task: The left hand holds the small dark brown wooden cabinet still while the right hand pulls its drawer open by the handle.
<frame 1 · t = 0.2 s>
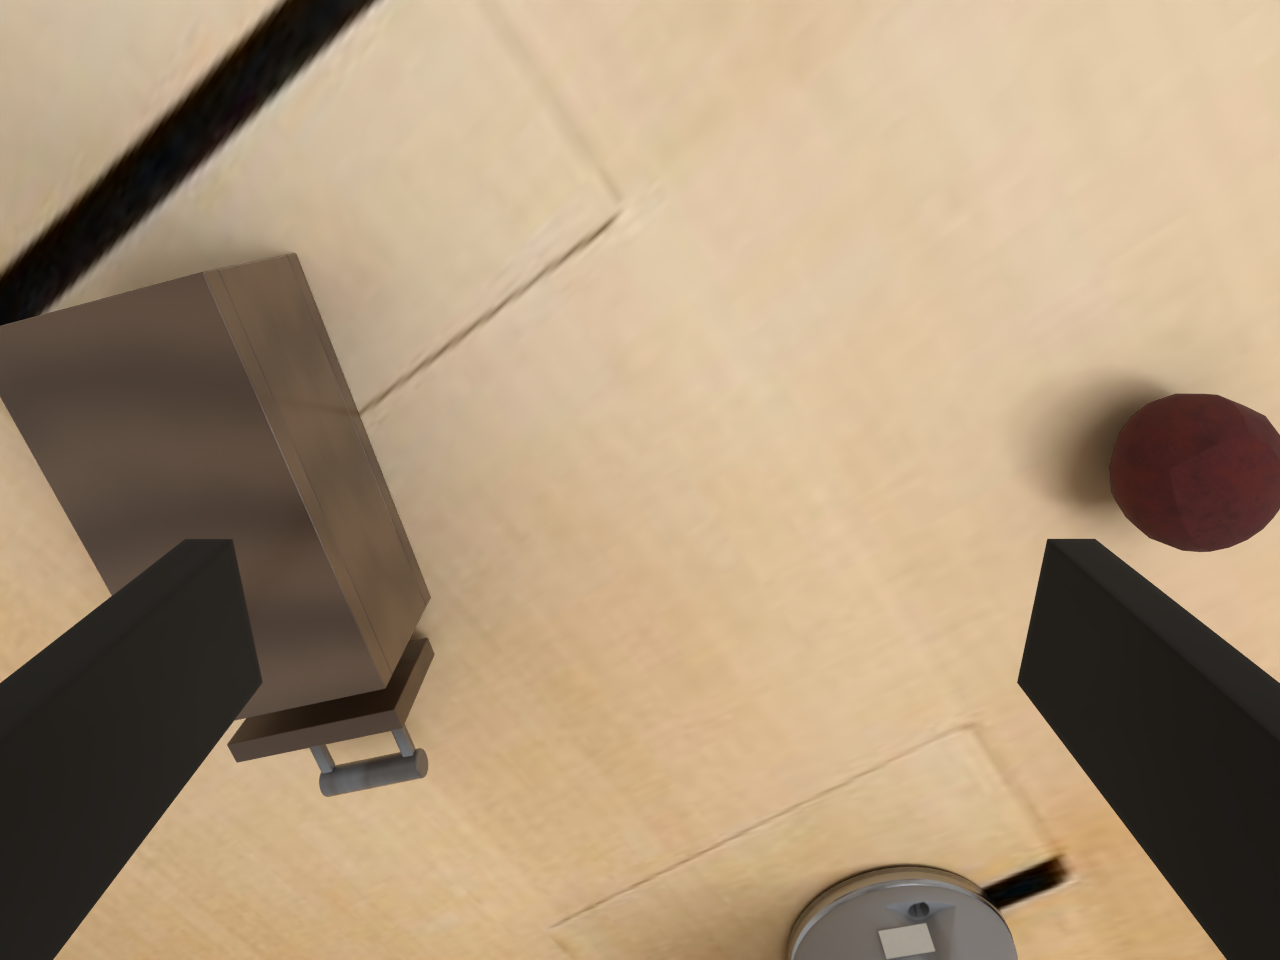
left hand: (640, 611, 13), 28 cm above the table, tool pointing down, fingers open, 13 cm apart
drawer: (295, 606, 40), point 4 cm above the table, slide at 1.9 cm
cabinet: (280, 461, 41), on the table
dark maroon ball: (1148, 445, 41), on the table
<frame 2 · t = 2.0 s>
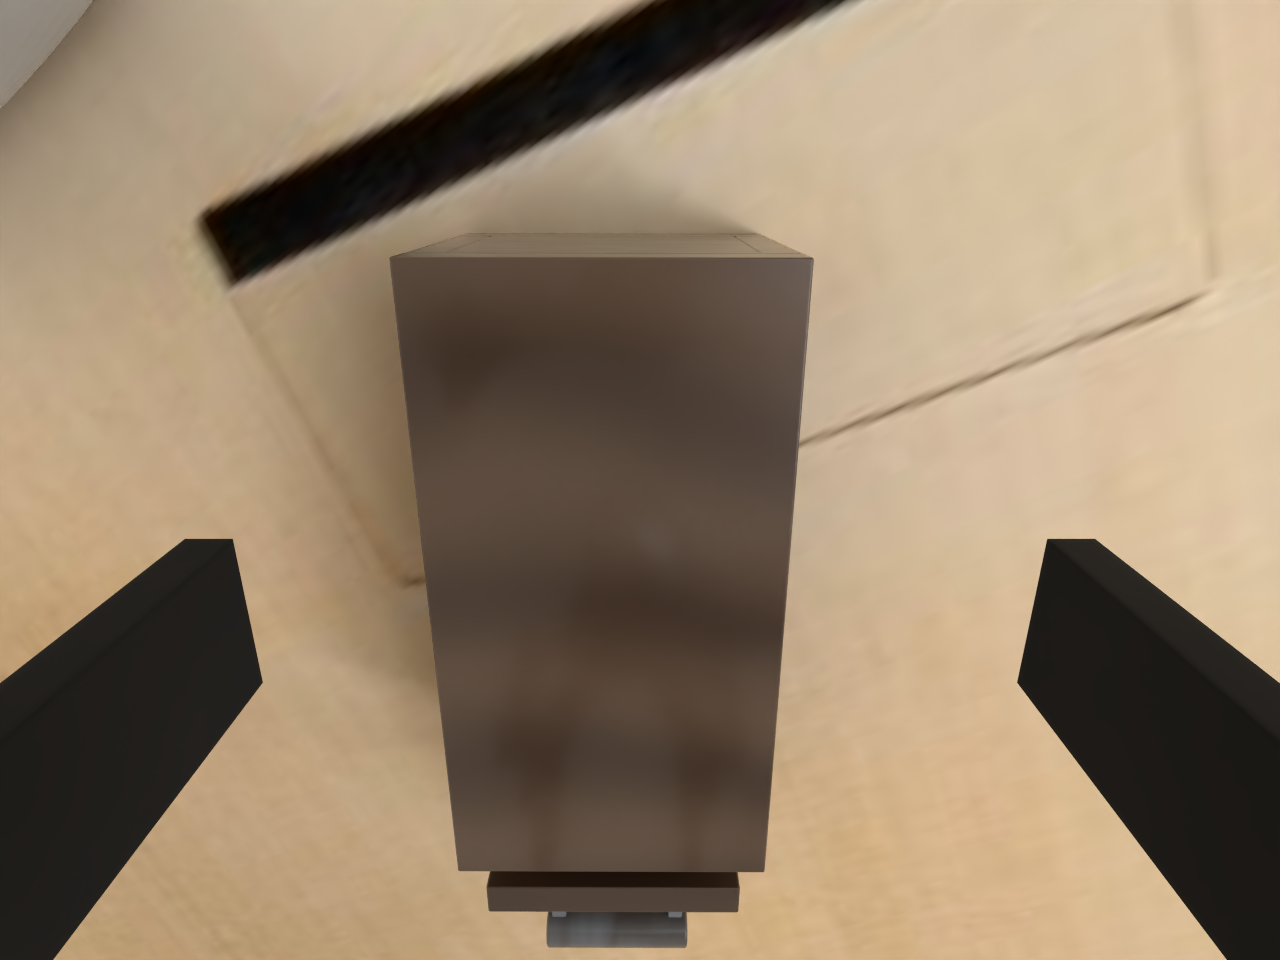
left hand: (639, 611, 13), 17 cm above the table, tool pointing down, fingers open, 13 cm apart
drawer: (614, 709, 28), point 4 cm above the table, slide at 1.9 cm
cabinet: (616, 498, 30), on the table
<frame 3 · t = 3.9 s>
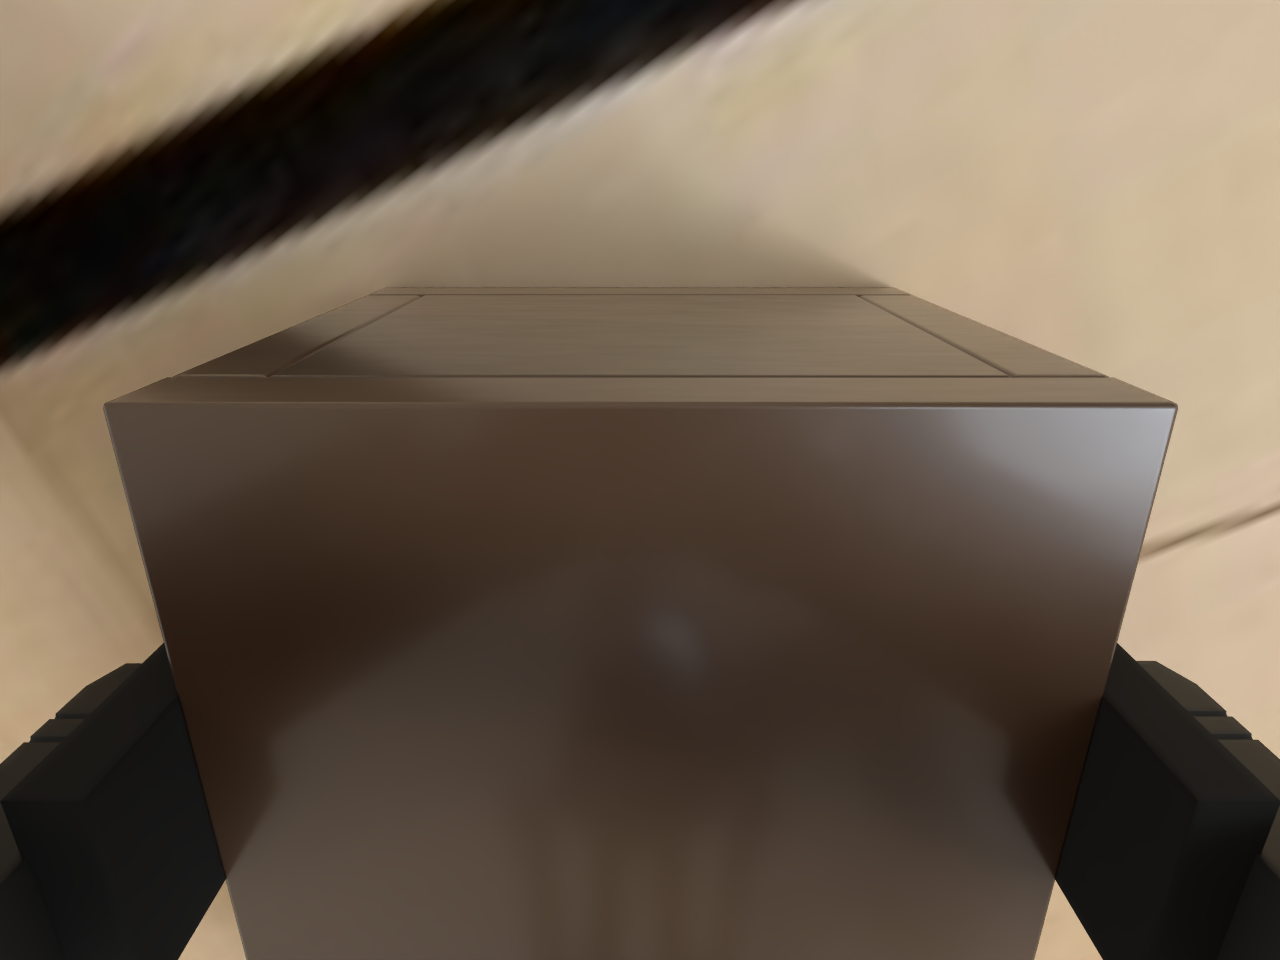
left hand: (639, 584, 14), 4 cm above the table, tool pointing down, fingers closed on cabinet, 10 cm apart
cabinet: (640, 700, 19), on the table, touching left hand
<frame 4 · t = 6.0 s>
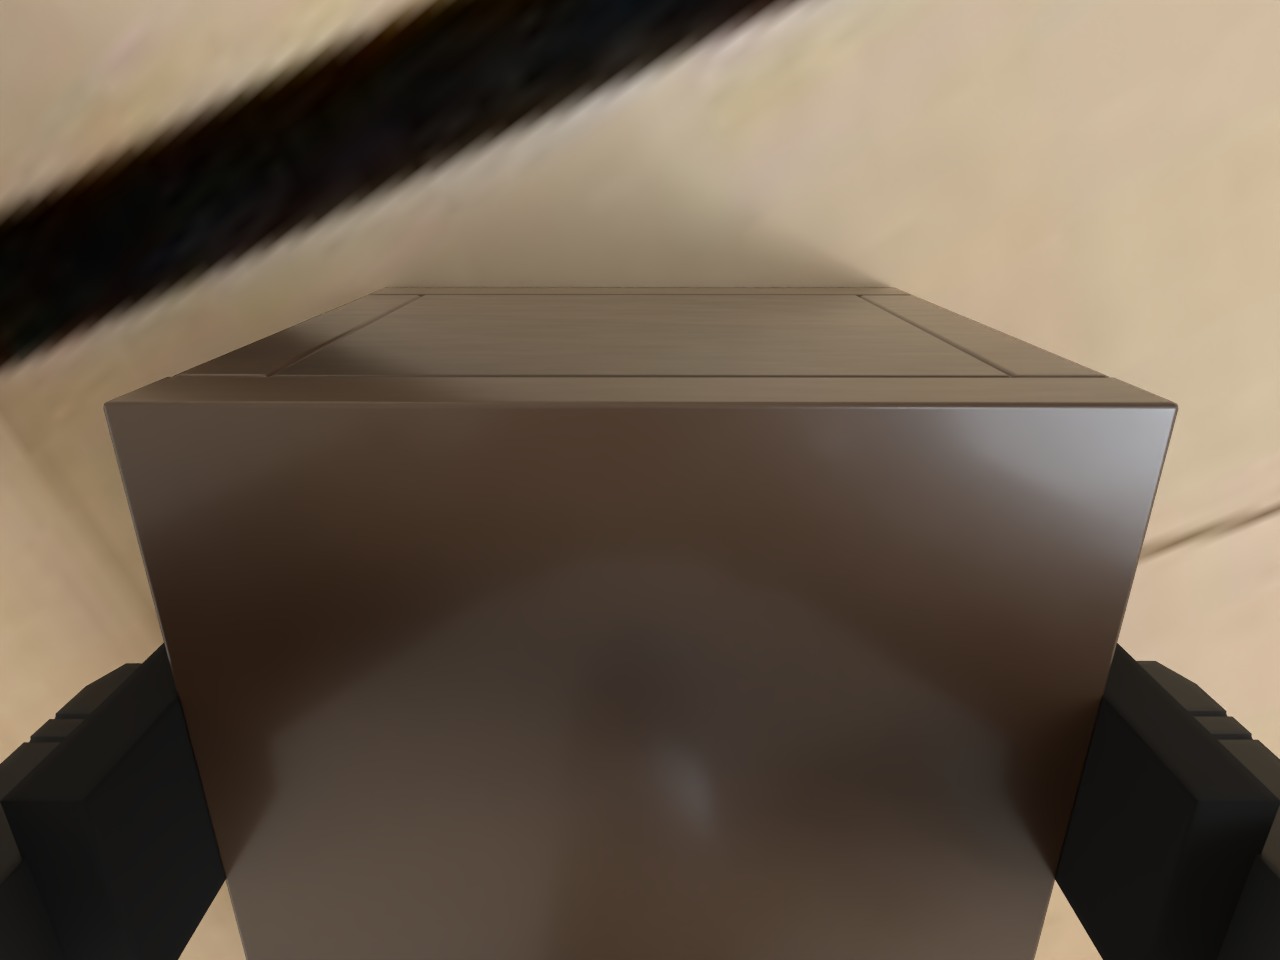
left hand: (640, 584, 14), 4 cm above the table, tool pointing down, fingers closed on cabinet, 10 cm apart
cabinet: (639, 700, 19), on the table, touching left hand
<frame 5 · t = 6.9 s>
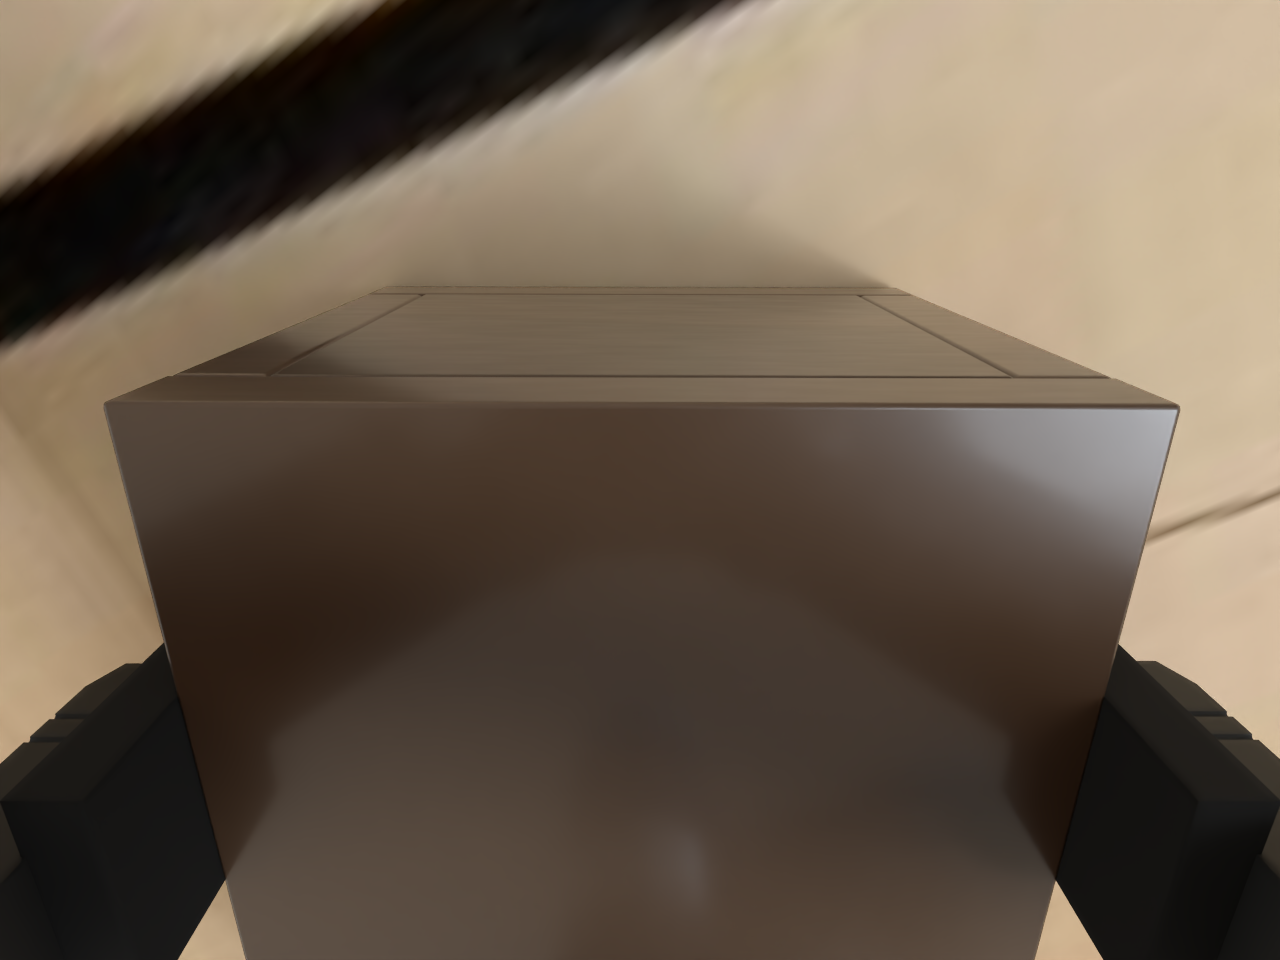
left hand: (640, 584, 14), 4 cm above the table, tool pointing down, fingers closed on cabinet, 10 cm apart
cabinet: (639, 700, 19), on the table, touching left hand
when the left hand's fingers open (4 cm above the table, at t = 8.3 s): cabinet stays where it is, on the table.
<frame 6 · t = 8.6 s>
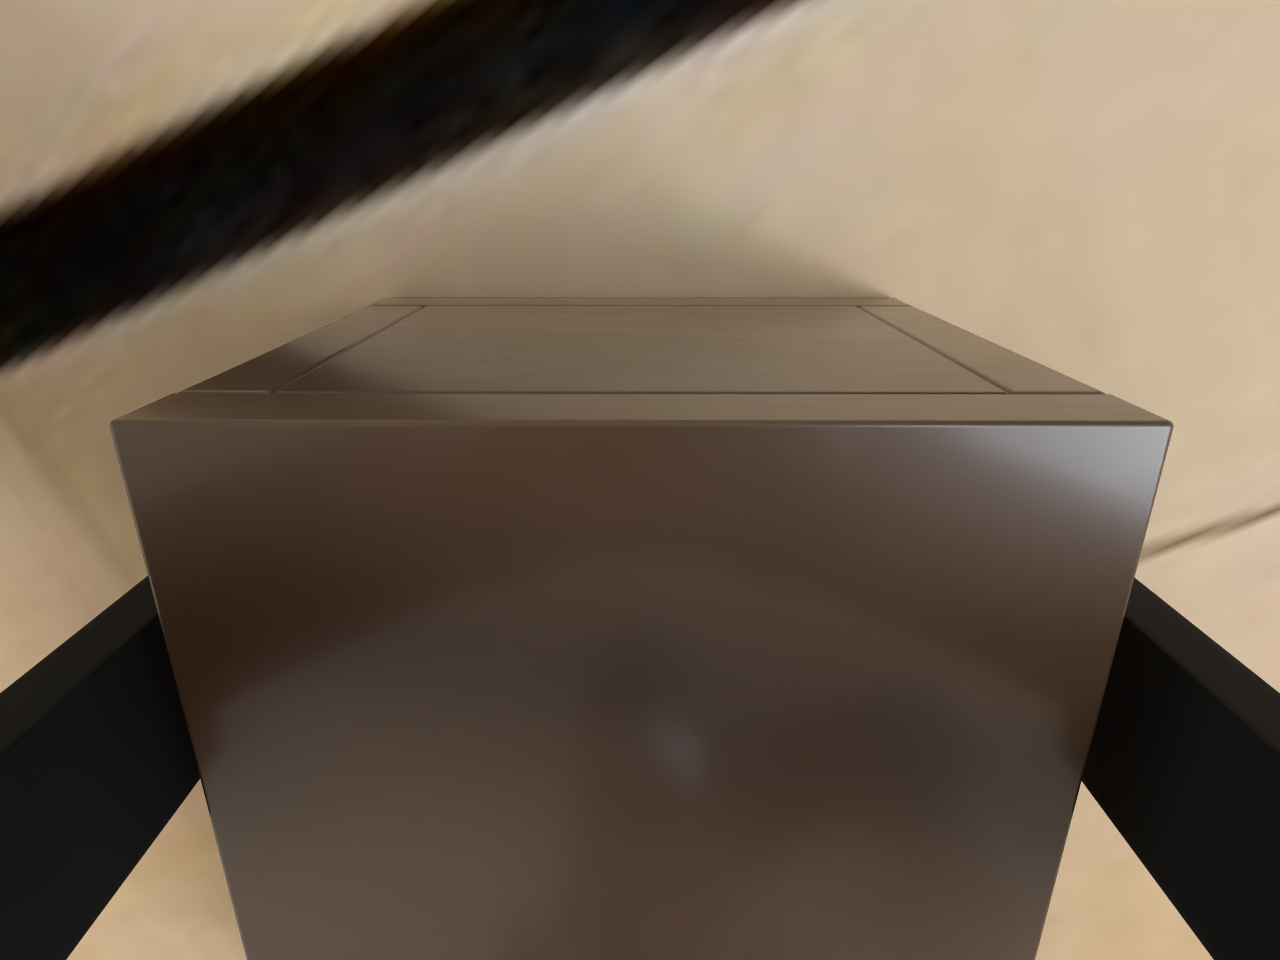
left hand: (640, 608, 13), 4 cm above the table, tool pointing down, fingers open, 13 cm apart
cabinet: (640, 707, 19), on the table
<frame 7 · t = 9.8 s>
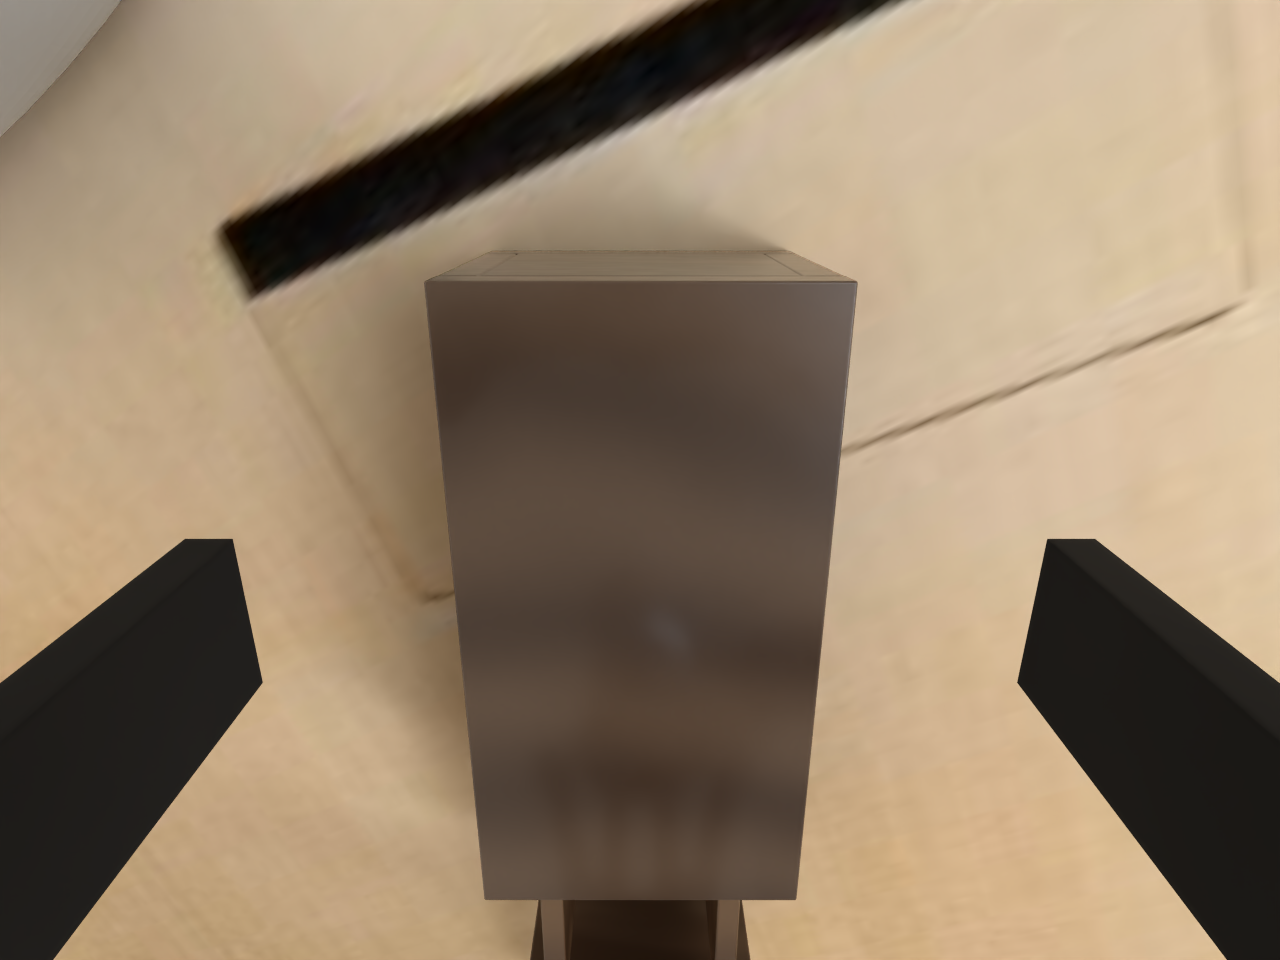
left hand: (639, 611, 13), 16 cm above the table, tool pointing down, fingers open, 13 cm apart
drawer: (640, 852, 30), point 4 cm above the table, slide at 7.7 cm
cabinet: (640, 517, 30), on the table
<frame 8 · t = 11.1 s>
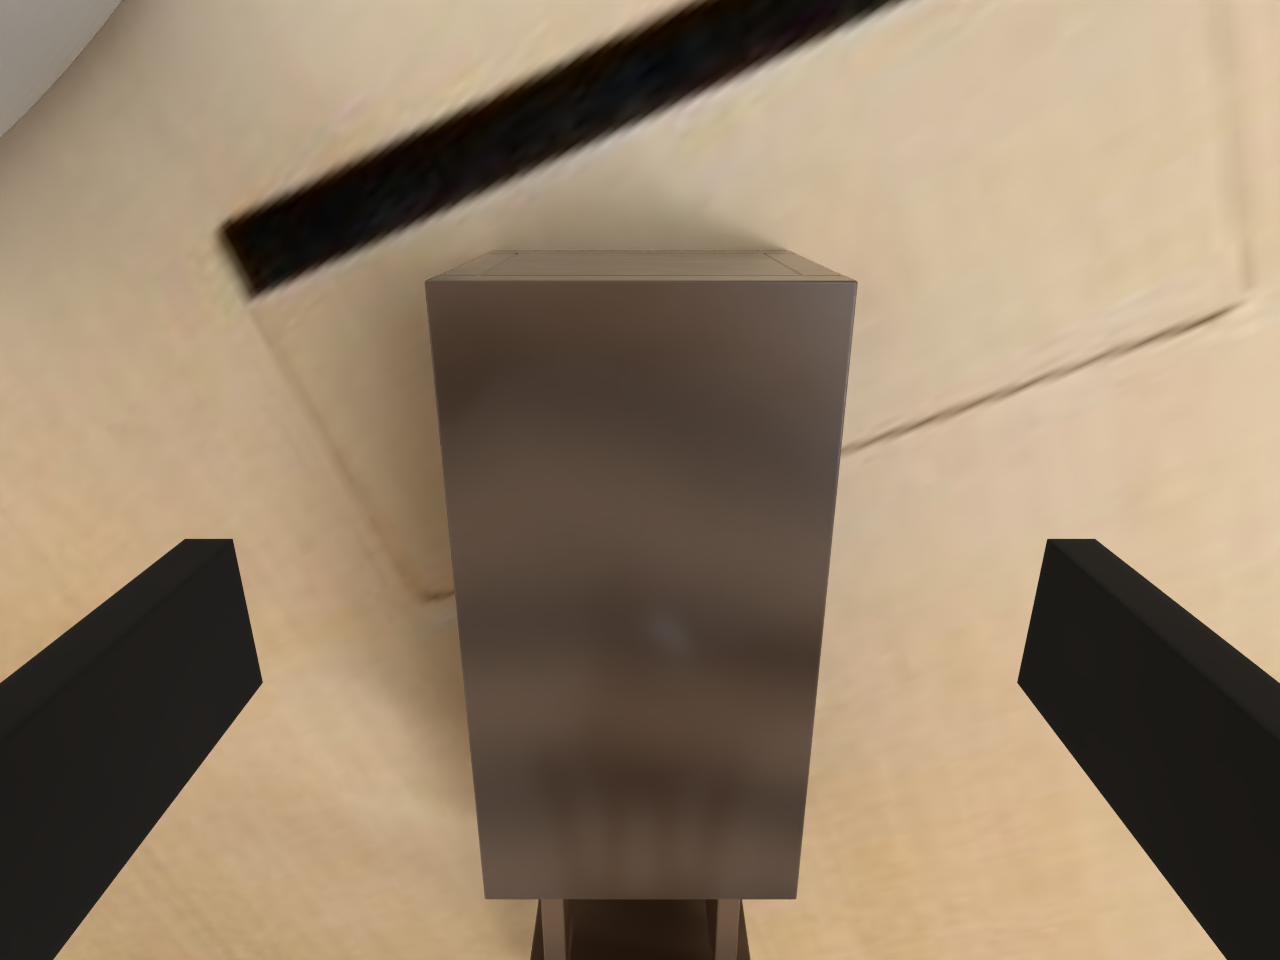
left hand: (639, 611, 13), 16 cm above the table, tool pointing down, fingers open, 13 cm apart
drawer: (640, 851, 30), point 4 cm above the table, slide at 7.6 cm
cabinet: (640, 517, 30), on the table
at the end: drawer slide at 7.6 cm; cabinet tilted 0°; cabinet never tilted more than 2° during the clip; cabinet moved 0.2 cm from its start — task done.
